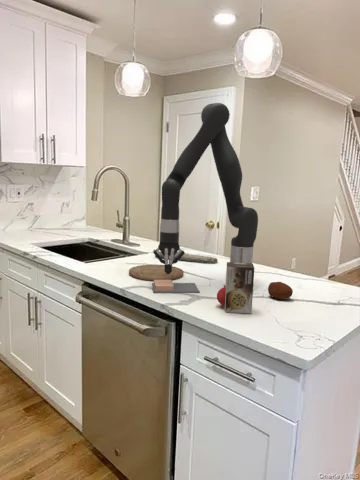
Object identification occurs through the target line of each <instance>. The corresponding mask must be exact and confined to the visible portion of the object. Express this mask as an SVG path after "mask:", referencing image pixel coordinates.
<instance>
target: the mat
mask: <svg viewBox="0 0 360 480" xmlns="http://www.w3.org/2000/svg"><path fill="white" fill-rule="evenodd" d="M172 283H173V286H174V291H156V290H155V286H154V282H151V287H152V292H153V294H200V293H201V292H200V289H199V287H198V286H197V285H196V283H195V282H172Z"/></svg>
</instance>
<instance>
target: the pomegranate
mask: <svg viewBox="0 0 360 480" xmlns="http://www.w3.org/2000/svg"><path fill="white" fill-rule="evenodd" d="M225 288H226V284H224V285H223V287H221V288H220V289H219V290H218V291H217V293H216V300H217V302H218V303H219V304H220V305H221V306H222V307H223V308H224V306H225Z"/></svg>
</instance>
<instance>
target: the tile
mask: <svg viewBox="0 0 360 480" xmlns="http://www.w3.org/2000/svg"><path fill="white" fill-rule="evenodd" d="M153 283H154V286H155V290H156V291H174V286H173V283H174V282H173V281H171V280H154V282H153Z"/></svg>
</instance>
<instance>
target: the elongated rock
mask: <svg viewBox="0 0 360 480" xmlns="http://www.w3.org/2000/svg"><path fill="white" fill-rule="evenodd" d="M159 252H160V253H159V255H160V256H161V258H162V259H163V260H164V255H163V254H162V253H161V251H159ZM177 255H178V252H177V253H176V254H175V255H174V256H173V260H174V259H175V257H176V256H177ZM168 260H169V256H168ZM180 261H182V262H183V261H187V262H194V263H195V262H196V263H201V264H212V265H213V264H218V258H216V257H212V256H206V255H205V256H204V255H198V254H196V255H195V254H189V253H184V255H183V256H182V257H181V258H180V259H179V262H180Z"/></svg>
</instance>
